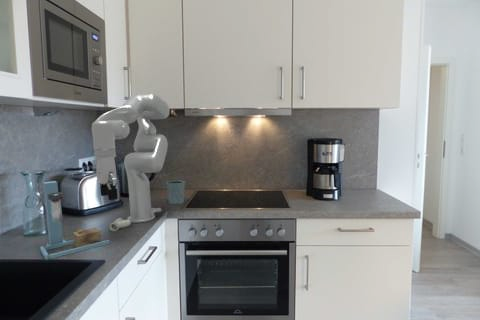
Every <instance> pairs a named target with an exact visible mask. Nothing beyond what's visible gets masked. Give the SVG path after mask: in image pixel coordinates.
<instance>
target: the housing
mask: <svg viewBox="0 0 480 320" xmlns="http://www.w3.org/2000/svg"><path fill="white" fill-rule="evenodd" d="M72 235H73V236H72V238H73V239H72V240H74V244H73V245H74V247H75V248H78V247H82V246H86V245H90V244H94V243H98V242H102V233H101V230H99V228H98V227H97V228H96V227H93V228H92V227H91V228H87V229H84V230H83V229H78V230H77V231H74V232H72Z"/></svg>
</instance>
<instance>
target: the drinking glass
mask: <svg viewBox="0 0 480 320" xmlns="http://www.w3.org/2000/svg"><path fill="white" fill-rule="evenodd" d="M185 183H186V181H185V180H181V179H180V180H169V181H167V182H166V188H167V197H168V198H167V199H168V204H169V205H180V204H181V205H182V204H184V202H185V188H186V187H185V186H186V184H185Z"/></svg>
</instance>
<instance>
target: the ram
mask: <svg viewBox="0 0 480 320" xmlns="http://www.w3.org/2000/svg"><path fill="white" fill-rule="evenodd" d="M47 196H48V200H51V209H52V219H53V222H58V221H61V222H62V221H63V213H62V202H61V201H62V200H61V199H63V196H64V195H63V192H58V193H51V194H48V195H47Z"/></svg>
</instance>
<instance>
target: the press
mask: <svg viewBox="0 0 480 320" xmlns="http://www.w3.org/2000/svg"><path fill="white" fill-rule="evenodd" d="M42 189H43V198H44V207H45V213H46V214H45V215H46V224H47V234H48V242H47V243H45V244H46V245H45V246H43V245H41V246H40V253H41V254H42V256H43V258H44V260H45V261H47V260H50V259H54V258H59V257H62V256H67V255H71V254H73V253H77V252H78V253H79V252H83V251H86V250H90V249H95V248H98V247H101V246H105V245H110V240H109V239H107V240H101V242H98V243H94V244H90V245H86V246H82V247H78V248H77V247H74V248H70V249H66V250H65V249H64V250H62V251H58V252H54V253H50V254H49V253H48V252H47V251H49V250H52V249H56V248H62V247H65V246H71V245H74V239H72V240H71V239H70V240H65V239H64V235H63V229H62V228H63V226H62V220H61V221H58V222H53V219H52V209H51V200H48V196H47V195H48V194H51V193H59V187H58V181H56V180H53V181H45V182H44V181H43V182H42Z"/></svg>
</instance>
